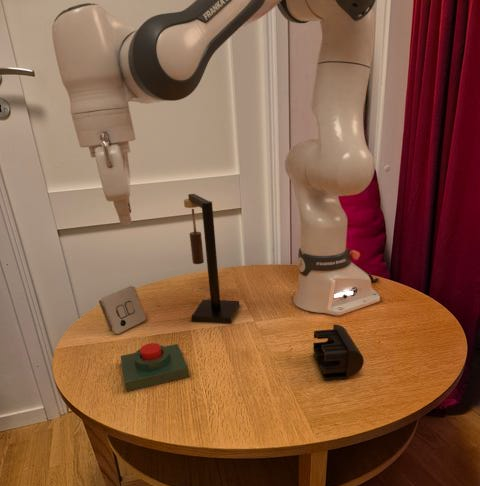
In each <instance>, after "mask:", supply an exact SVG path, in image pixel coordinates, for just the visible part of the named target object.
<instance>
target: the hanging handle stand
mask: <svg viewBox="0 0 480 486" xmlns="http://www.w3.org/2000/svg"><path fill="white" fill-rule="evenodd" d="M183 205H184V208H186V209H194V208H200V209H201V212H202V213H201V214H202V224H203V233H204V244H205V245H204V246H205V257H206V267H207V278H208V288H209V297H210V298H209V299H205V298H204V299H202V300H201V302H200V303H199V304H198V306H197V307H196V308H195V310H194V312H193V313H192V315H191V317H190V318H191V322H197V323H213V324H214V323H215V324H216V323H217V324H231V323H232V322H233V320H234V318H235V316H236V314H237V312H238V310H239V308H240V305H241V304H240V303H241V302H240V300H228V299H227V300H225V299H221V295H220V283H219V282H220V281H219V269H218V258H217V257H218V255H217V244H216V235H215V234H216V233H215V220H214V211H213V210H214V209H213V208H214V207H213V201H211V200H207V199H206V198H204V197H202V196H199V195H198V194H196V193H189V194H188V198H184V200H183Z"/></svg>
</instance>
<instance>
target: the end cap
mask: <svg viewBox="0 0 480 486" xmlns="http://www.w3.org/2000/svg"><path fill="white" fill-rule="evenodd" d="M313 339H317V340H324V339H327V340H326V341H318V342H313V346H312V347H313V358H314V360H315V363H316V365H317V367H318V369H319V372H320V374H321V377H322V379H323V381H326V382H327V381H338V380H339V381H340V380H347V379H349V378H351V377H353V376H356V375H357V374H358V373H359V372H360V371H361V370H362V368H363V366H364V356H363V354H362V353H361V351H360V350H359V348H358V346H357V345H356V344H355V342H354V340H353V339H352V337H351V335H350V334H349V332H348V331H347V329H346V328H345V327H344V326H342V325H340V324H333V325H332V329H321V330H313Z"/></svg>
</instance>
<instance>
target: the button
mask: <svg viewBox="0 0 480 486" xmlns="http://www.w3.org/2000/svg"><path fill="white" fill-rule="evenodd" d="M139 349H140V352H141V357H142V359H143V360H155V359H158V358H159V357H161V356H162V351H161V346H160V344H159V343H156V342H149V343H146V344H144V345H142V346H141V347H140V348H139Z"/></svg>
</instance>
